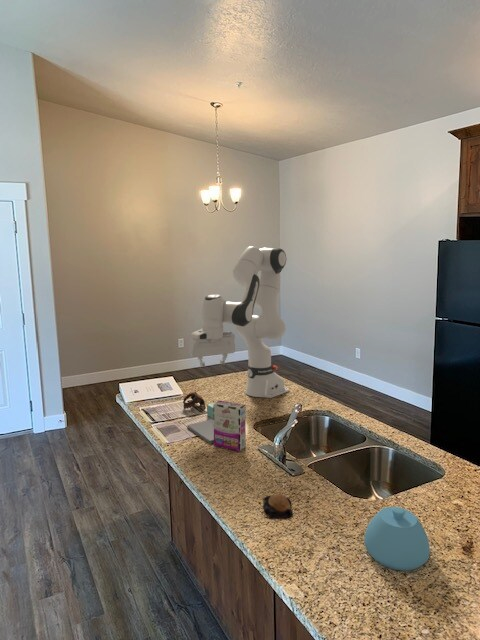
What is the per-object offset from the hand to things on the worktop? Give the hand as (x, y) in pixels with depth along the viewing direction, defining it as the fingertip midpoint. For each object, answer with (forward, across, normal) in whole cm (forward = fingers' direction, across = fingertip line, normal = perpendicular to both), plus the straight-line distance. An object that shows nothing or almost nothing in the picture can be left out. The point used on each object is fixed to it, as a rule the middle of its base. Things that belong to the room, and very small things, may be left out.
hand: (212, 365), depth 197 cm
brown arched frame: (+23, +3, -12) cm, 26 cm away
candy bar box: (+23, +7, +31) cm, 39 cm away
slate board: (+23, +7, +16) cm, 29 cm away
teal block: (+22, -1, +1) cm, 23 cm away
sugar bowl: (+24, -1, +102) cm, 105 cm away
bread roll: (+24, +14, +73) cm, 78 cm away
